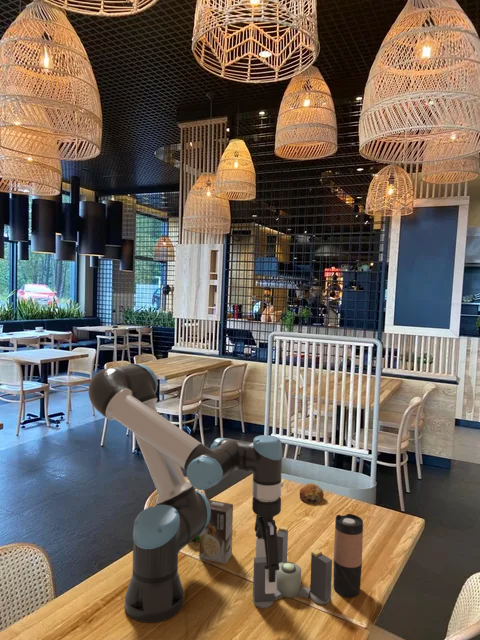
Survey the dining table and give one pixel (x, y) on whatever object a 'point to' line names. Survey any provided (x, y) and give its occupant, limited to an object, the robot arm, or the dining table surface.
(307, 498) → the bread roll
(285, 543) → the grey block tan end
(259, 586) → the dark grey upright block
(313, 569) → the grey post tan tip
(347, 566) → the travel mug
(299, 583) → the tribrach hub
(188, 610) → the dining table surface
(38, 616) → the dining table surface
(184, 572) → the dining table surface
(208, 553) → the coffee box
